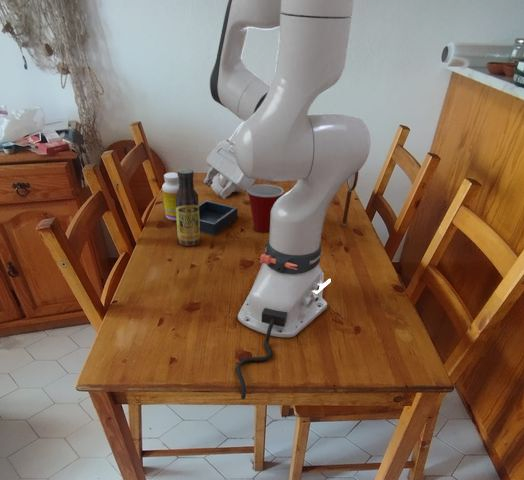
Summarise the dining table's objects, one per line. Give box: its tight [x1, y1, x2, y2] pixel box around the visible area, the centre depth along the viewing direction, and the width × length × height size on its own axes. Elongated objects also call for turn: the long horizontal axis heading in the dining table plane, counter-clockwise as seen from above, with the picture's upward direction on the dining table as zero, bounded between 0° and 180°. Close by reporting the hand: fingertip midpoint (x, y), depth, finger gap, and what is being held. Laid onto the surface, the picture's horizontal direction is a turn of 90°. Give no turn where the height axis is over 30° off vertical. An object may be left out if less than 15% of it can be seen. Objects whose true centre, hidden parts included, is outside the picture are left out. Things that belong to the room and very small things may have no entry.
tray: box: [199, 200, 238, 236], centre depth 127 cm, size 14×12×3 cm
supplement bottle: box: [161, 171, 179, 222], centre depth 126 cm, size 7×7×13 cm
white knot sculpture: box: [210, 173, 242, 198], centre depth 142 cm, size 11×12×9 cm
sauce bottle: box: [175, 167, 201, 247], centre depth 112 cm, size 6×6×20 cm
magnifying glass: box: [342, 171, 359, 227], centre depth 123 cm, size 9×2×20 cm, turn 4°
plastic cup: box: [246, 184, 285, 233], centre depth 122 cm, size 11×11×12 cm
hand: (213, 190), depth 112 cm, fingers open, 8 cm apart
